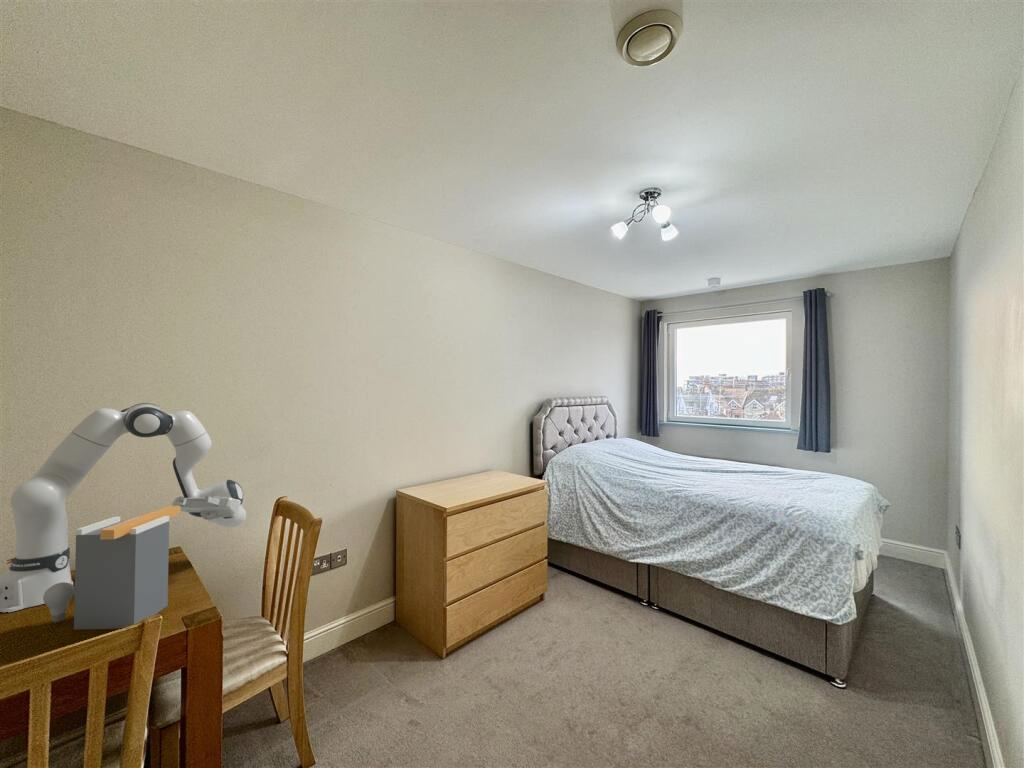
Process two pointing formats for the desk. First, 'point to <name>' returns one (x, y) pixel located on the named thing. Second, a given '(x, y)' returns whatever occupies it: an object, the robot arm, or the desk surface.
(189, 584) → the desk surface
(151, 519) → the orange flat bar
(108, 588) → the block
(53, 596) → the lightbulb
